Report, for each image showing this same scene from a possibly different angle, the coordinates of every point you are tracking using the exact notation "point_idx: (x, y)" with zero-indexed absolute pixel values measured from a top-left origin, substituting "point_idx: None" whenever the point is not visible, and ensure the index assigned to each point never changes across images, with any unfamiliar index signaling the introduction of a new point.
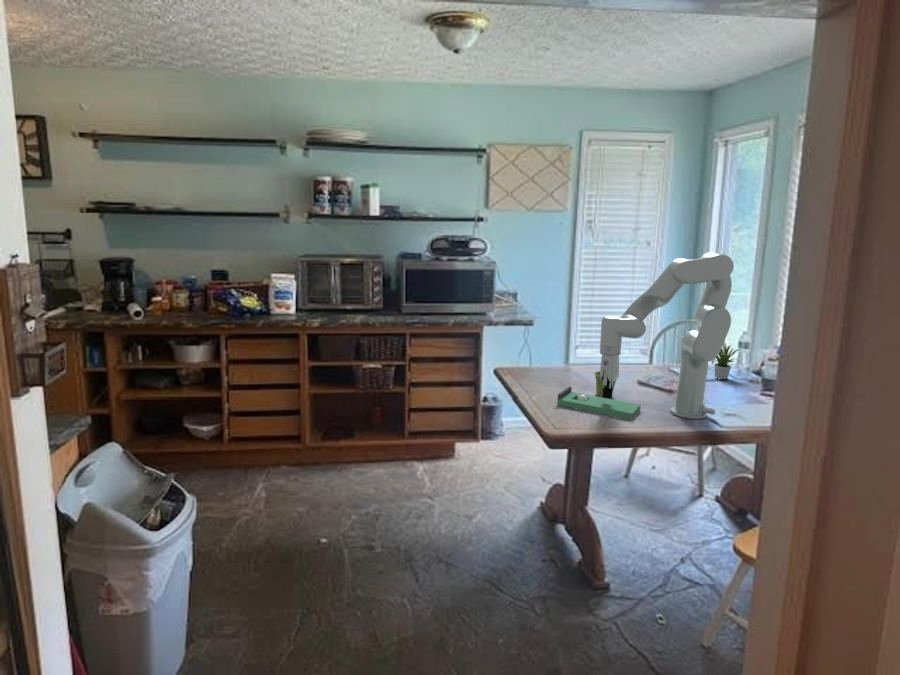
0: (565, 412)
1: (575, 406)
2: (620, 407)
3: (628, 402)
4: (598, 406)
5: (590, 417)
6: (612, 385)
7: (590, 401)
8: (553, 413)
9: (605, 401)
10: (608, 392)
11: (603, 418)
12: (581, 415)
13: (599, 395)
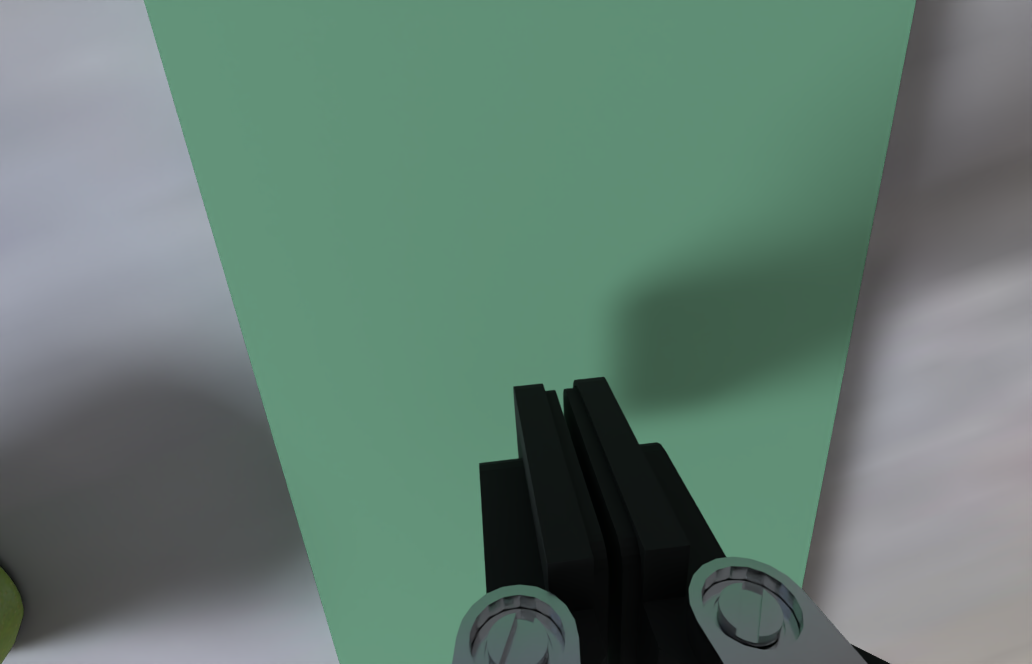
0: (917, 597)
1: None
2: (658, 105)
3: (173, 84)
4: (808, 415)
5: (988, 366)
6: (501, 644)
7: None
8: (994, 645)
9: (473, 437)
10: (690, 504)
11: (968, 227)
12: (952, 462)
13: (21, 616)
